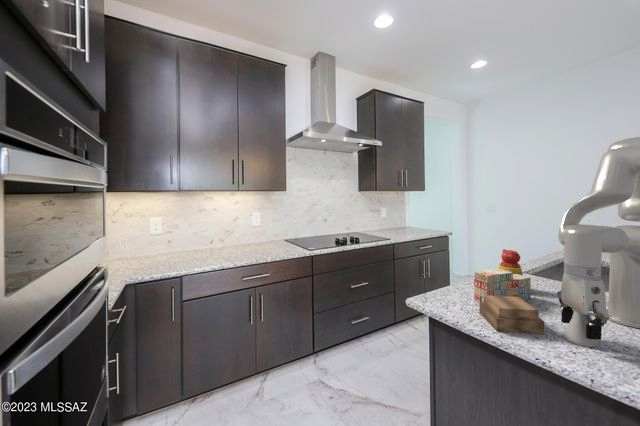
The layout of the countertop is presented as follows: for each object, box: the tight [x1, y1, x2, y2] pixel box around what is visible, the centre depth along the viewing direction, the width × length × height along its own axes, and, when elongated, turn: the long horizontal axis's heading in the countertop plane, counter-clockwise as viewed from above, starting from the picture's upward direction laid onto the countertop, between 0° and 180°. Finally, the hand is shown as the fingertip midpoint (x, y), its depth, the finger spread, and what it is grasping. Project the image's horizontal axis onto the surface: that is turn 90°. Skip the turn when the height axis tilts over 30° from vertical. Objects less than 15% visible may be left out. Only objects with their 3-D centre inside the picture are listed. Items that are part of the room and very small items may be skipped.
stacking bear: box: [497, 249, 524, 276], centre depth 117 cm, size 11×10×18 cm
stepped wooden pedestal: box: [478, 295, 545, 335], centre depth 86 cm, size 13×13×7 cm
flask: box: [561, 309, 599, 348], centre depth 75 cm, size 7×7×10 cm
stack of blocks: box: [473, 268, 532, 304], centre depth 105 cm, size 21×6×12 cm, turn 103°
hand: (579, 330), depth 75 cm, fingers open, 8 cm apart
